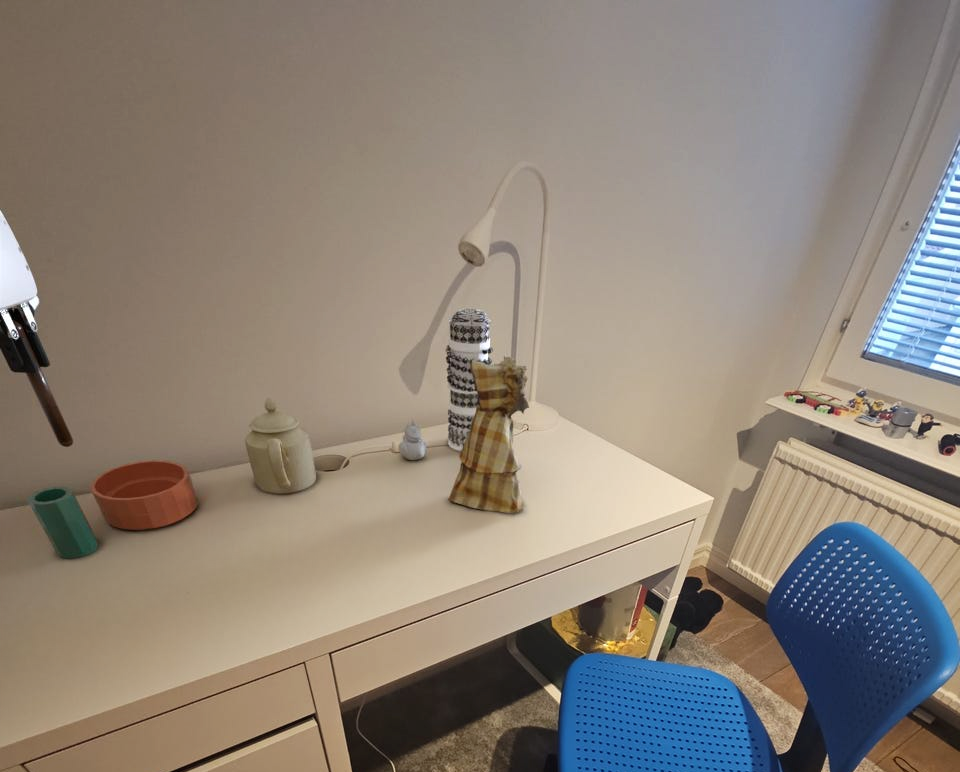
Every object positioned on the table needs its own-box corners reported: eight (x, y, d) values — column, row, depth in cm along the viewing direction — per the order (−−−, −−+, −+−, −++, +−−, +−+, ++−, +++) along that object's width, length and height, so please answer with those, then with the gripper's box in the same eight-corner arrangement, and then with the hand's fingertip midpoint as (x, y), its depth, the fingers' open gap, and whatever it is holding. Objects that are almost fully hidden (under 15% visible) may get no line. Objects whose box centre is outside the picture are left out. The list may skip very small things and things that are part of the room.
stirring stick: (58, 448, 78) (-3, 321, 67) (65, 443, 79) (7, 318, 69) (71, 449, 78) (12, 322, 67) (78, 444, 79) (21, 318, 69)
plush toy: (468, 466, 109) (465, 335, 88) (537, 479, 106) (550, 347, 86) (445, 513, 101) (436, 381, 81) (519, 528, 99) (528, 396, 78)
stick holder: (50, 558, 83) (18, 503, 77) (70, 539, 87) (42, 485, 81) (86, 559, 83) (58, 504, 77) (105, 540, 87) (79, 487, 81)
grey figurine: (406, 465, 111) (404, 425, 105) (394, 453, 115) (391, 414, 110) (431, 461, 113) (430, 421, 107) (418, 449, 117) (416, 410, 112)
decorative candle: (475, 432, 125) (478, 304, 108) (497, 447, 119) (503, 314, 102) (439, 439, 121) (436, 308, 104) (459, 455, 115) (460, 319, 99)
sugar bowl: (338, 490, 102) (325, 406, 92) (282, 508, 96) (262, 421, 86) (299, 463, 110) (283, 383, 100) (245, 478, 105) (223, 395, 95)
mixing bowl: (88, 532, 89) (71, 497, 85) (132, 491, 99) (118, 458, 95) (177, 535, 89) (164, 501, 85) (211, 494, 100) (201, 461, 96)
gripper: (-38, 180, 65) (39, 351, 78) (-153, 187, 54) (-41, 387, 66) (27, 183, 66) (93, 353, 78) (-74, 191, 54) (23, 390, 66)
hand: (31, 368), depth 72 cm, fingers closed on stirring stick, 1 cm apart
